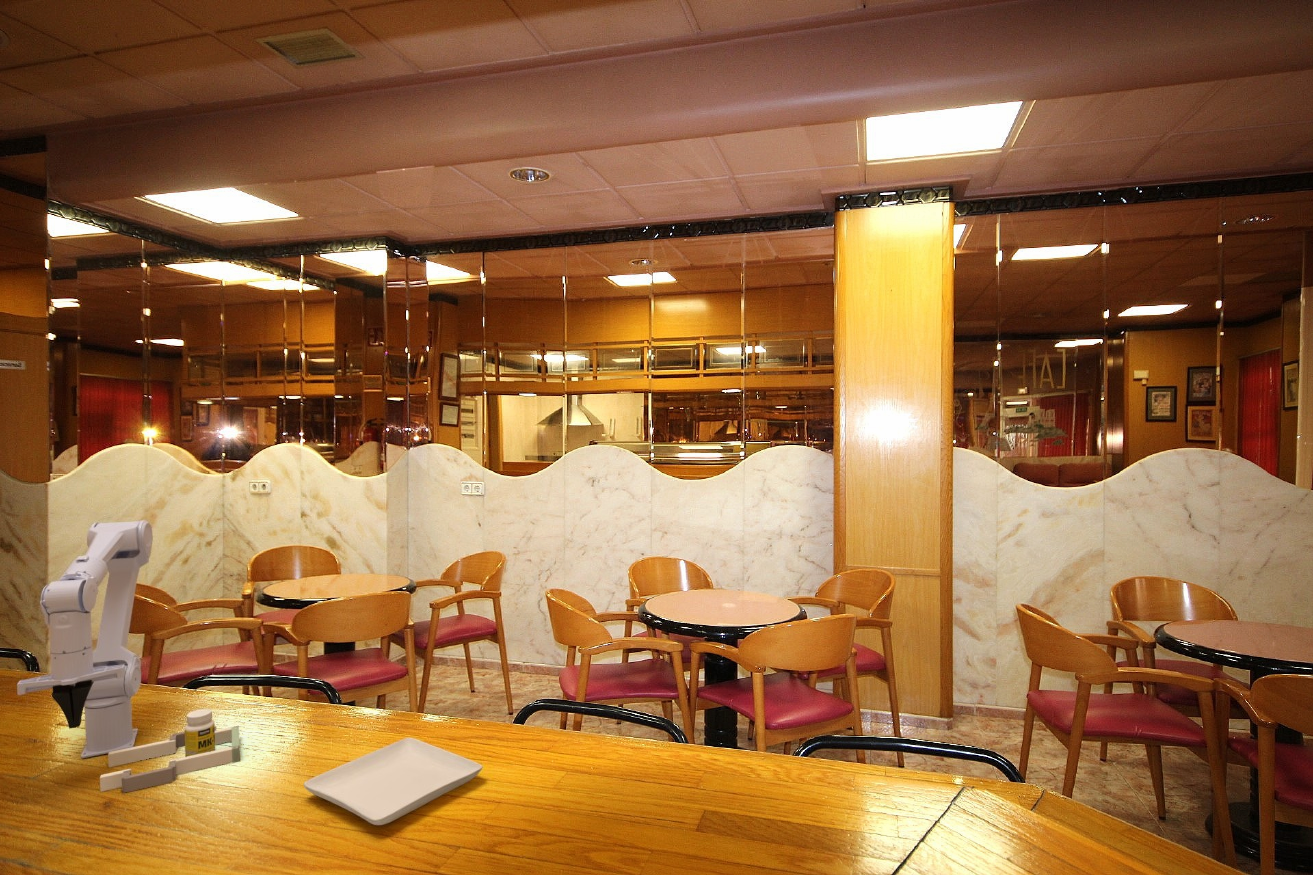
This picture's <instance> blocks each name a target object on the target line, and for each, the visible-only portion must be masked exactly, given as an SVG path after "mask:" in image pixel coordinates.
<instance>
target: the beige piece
mask: <svg viewBox="0 0 1313 875" xmlns="http://www.w3.org/2000/svg"><path fill="white" fill-rule="evenodd" d="M239 729H240V727H239V725H236V726H231V727H226V728H221V729H217V726H215V746H217V745H222V743H223V744H226V743H225V742H227V743H231V746H229V747H226V748H221V749H215V751H211V752H206V753H201V754H197V755H192V756H187V757H185V756H183V757H179V758H175V759H170V760H169V762H168V766H167V767H166V766H165V767H161V768H158V769H154V770H149V771H144V772H139V773H136V774H135V773H134V774H132V768H127V769H122V770H118V771H114V772H109V773H104V774H101V775H100V777H99V784H100V785H99V787H100V788H99V790H100V792H101V793H102V792H105V791H111V790H115V789H120V788H121V793H124V794H125V793H126V792H127V793H130V792H134V791H139V789H140V790H143V788H144V789H148V787H149V788H153V787H156V786H161V784H162V785H165V783H166V784H170V782H171V783H173V782H174V781H176V779H177V775H182V774H186V773H191V772H195V771H200V770H203V769H204V768H205V769H209V768H212V767H218V766H222V764H223V765H226V764H231V763H230V762H232V763H234V762H235V763H236V762H240V761H241V753H240V730H239ZM231 741H232V742H231ZM180 747H185V731H181V732H176V733H172V734H170V735H169V739H166V740H162V741H161V740H160V741H157V742H156V741H155V742H153V743H148V744H142V745H138V746H133V747H131V748H126V749H121V750H116V751H111V752H109V753H107V755H108V756H107V757H108V758H107V760H108V761H107V762H108V768H113V767H118V766H122V765H128V764H132V762H133V763H135V762H141V761H140V760H142V761H146V759H147V760H150V759H149V758H152V759H154V758H155V757H156V758H160V756H161V757H163V756H162V755H166V756H170V755H169V754H171V755H174V754H173V753H175V754H177V748H180ZM156 758H155V759H156ZM205 769H204V770H205ZM172 781H173V782H172ZM152 786H153V787H152Z"/></svg>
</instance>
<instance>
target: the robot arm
mask: <svg viewBox="0 0 1313 875" xmlns="http://www.w3.org/2000/svg"><path fill="white" fill-rule="evenodd" d="M153 538H154V536H153V528H152V525H151V523H150V522H149V521H148V520H146V519H141V520H135V521H133V520H132V521H117V522H94V523H92V524H91V526H89V528H88V530H87V535H86V544H87V550H86V552H85V553H84V555H79V556H77V557H76V558H75V559H73V561H72V562H71V563H70V564H69V566H68V567H67V568H66V570H65V571H64V572H63V573H62V575H61V576H60V578H58V580H57V581H55V580H53V581H51V582H50V583H49V584H46V585H45V586H44V587H43V589H42V591H41V595H40V602H39V605H40V611H41V612H42V614H43V616H44V624H45V627H48V631H49V633H48V634H49V635H48V636H49V654H50V655H49V656H50V673H49V674H45V675H41V676H36V677H32V678H26V679H21V680H19V681H18V682H17V684H16V687H17V689H16V690H17V696H20V695H25V694H27V693H33V692H38V691H39V692H40V691H43V690H50V689H52V692H51V697H52V698H53V700H54V701H55V702H56V704H57V705H58V706H59V707H60V709H61V710H62V712H63V715H64V716H65V719H66V722H67V726H68V729H69V730H70V729H74V728H75V729H77V728H79V727H80V726H81V724H82V717H83V716H82V715H83V712H84V728H85V729H84V730H85V746H84V747H83V750H82V752H81V754H80V758H81V759H85V758H90V757H95V756H101V755H104V754H106V755H107V754H109V752H111V751H116V750H121V749H126V748H131V747H135V746H134V745H135V742H136V738H137V734H138V731H139V729H138V728H133V719H132V718H133V716H132V713H133V712H132V697H134V696H135V695H136V694H137V693H138V691H139V689H140V686H141V683H142V671H141V667H142V661H141V658H140V657H139V655H138V654H137V653H135V652H133V651H131V650H129V649H128V648H127V647H128V640H129V634H130V633H129V632H130V627H131V621H132V614H133V609H134V608H133V607H134V601H135V596H136V595H135V593H136V589H137V588H136V587H137V581H138V576H139V573H140V568H142V567H143V566H145V565H147V564H149V561H150V558H151V553H152V548H153V541H154V539H153ZM107 574H108V577H107V584H106V590H105V591H106V592H105V596H104V603H103V607H102V608H103V609H102V613H101V619H100V624H99V630H98V635H97V636H98V637H97V641H96V647H95V649H94V650H93V640H92V639H93V637H92V636H93V634H92V613H91V611H92V610H93V609H94V608H95V605H96V601H97V597H98V595H99V586H100V584H101V583H102V582H103V580H104V578H105V577H106V575H107ZM83 710H84V711H83Z"/></svg>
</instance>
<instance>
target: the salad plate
mask: <svg viewBox="0 0 1313 875" xmlns="http://www.w3.org/2000/svg"><path fill="white" fill-rule="evenodd" d="M483 768H484V766H483V765H482V764H480V763H478V762H476V761H474V760H471V759H469V758H466V757H464V756H461V755H460V754H456V753H454V752H451V751H449V750H447V749H443V748H441V747H438V746H435V745H432V744H430V743H427V742H425V741H423V740H420V739H416V738H414V737H405V738H402V739H400V740H398V741H395V742H393V743H390V744H388V745H386V746H384V747H381V748H379V749H376V750H374V751H372V752H369V753H367V754H364V755H362V756H360V757H358V758H356V759H354V760H353V759H352V760H350V761H348V762H347V763H344V764H342V765H339V766H336V767H335V768H333V769H330V770H327V771H325V772H323V773H321V774H319V775H317V776H314V777H312V778H310V779H308V780H306V781H305V782H303V787H304V788H305V789H306V790H307V791H308V792H309V793H312V794H313V795H315V796H318V797H320V798H321V799H324V800H326V801H328V802H330V803H332V804H335V805H337V806H339V807H341V808H342V809H345V810H346V811H349V813H350V812H351V813H353V814H354V815H355V816H358V817H360V818H361V819H363V820H365V821H366V822H368V823H369V824H372V825H374V826H383V825H387V824H389V823H391V822H393V821H394V822H395V820H398V819H399V818H401V817H403V816H406V815H407V814H409V813H412V812H413V811H415V810H417V809H419V808H421V807H423V806H425V805H427V804H428V803H431V802H432V801H434V800H436V799H437V798H439V797H441V796H442V795H445V794H446V793H449V792H450V791H453V790H454V789H456V788H458V787H462V785H464V784H466V783H468V782H469V781H472V779H474V778H475V777H477V776H478V774H479V773H480V772H481V771H482V770H483Z"/></svg>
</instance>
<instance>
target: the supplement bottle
mask: <svg viewBox="0 0 1313 875" xmlns="http://www.w3.org/2000/svg"><path fill="white" fill-rule="evenodd" d="M186 723H187V724H186V725H185V726H184V732H185V746H184V754H185V755H184V757H187V756H192V755H197V754H201V753H206V752H211V751H215V750H216V745H215V725H216V724H215V720H214V719H213V710H212V709H209V708H201V709H195V710H193V711H191V712H188V713H187V714H186Z"/></svg>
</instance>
